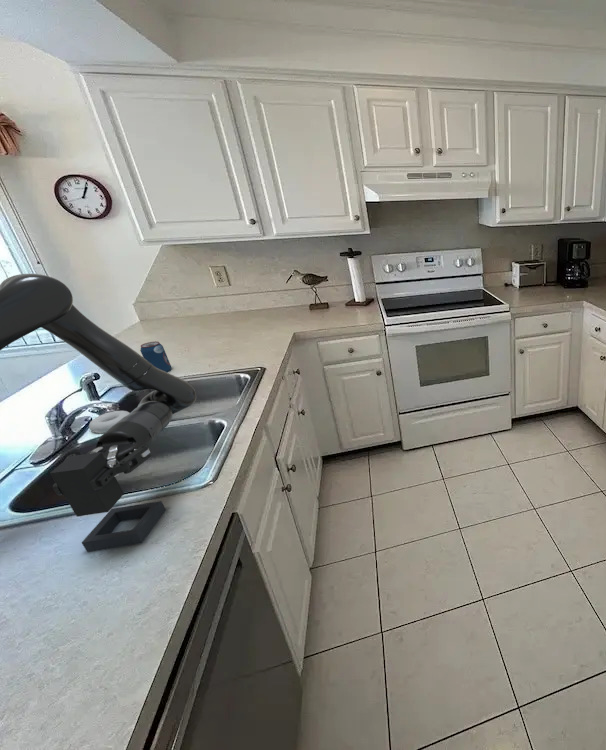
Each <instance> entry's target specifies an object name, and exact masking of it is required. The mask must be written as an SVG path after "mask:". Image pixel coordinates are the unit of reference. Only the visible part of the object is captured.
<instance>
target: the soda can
mask: <svg viewBox="0 0 606 750" xmlns="http://www.w3.org/2000/svg"><path fill="white" fill-rule="evenodd" d="M140 353H141V356H142V357H143V358H145V359H146V360H147V361H148V362H150V363H151V364H152V365H153V366H155V367H156V368H158V369H160V370H163V371H165V372H167V373H169V372H170V371H171V370H172V365H171V363H170V360H169V358H168V355H167V352H166V350H165V347H164V345H163V344H161V342H160V341H158V340H157V341H156V340H155V341H149V342H145V343H142V344H141V345H140Z"/></svg>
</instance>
